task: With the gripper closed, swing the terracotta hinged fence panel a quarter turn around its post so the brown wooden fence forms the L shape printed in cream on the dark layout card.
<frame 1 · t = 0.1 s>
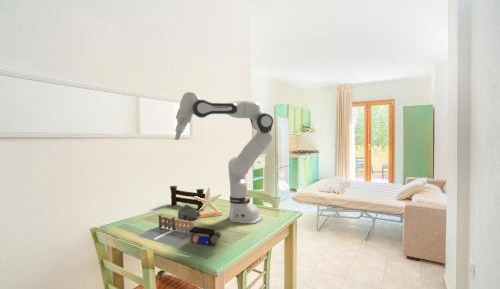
hand: (176, 139, 153), 52 cm above the table, tool tilted 20°, fingers open, 8 cm apart
decorative fence: (186, 207, 189), on the table
mineral rock: (188, 220, 162), on the table
fixed fence section: (174, 229, 145), resting on layout card
figurine character: (205, 243, 127), on the table
hinged fence panel: (184, 225, 141), point 4 cm above the table, hinge at 0.0°
layout card: (171, 233, 140), on the table
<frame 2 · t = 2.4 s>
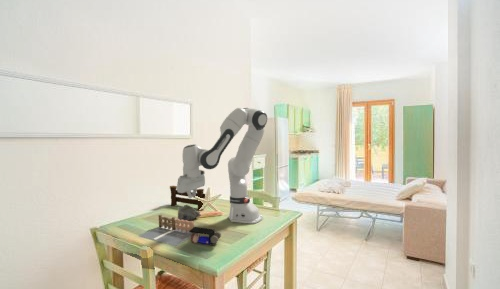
hand: (192, 197, 143), 19 cm above the table, tool pointing down, fingers closed
nothing on the table moved.
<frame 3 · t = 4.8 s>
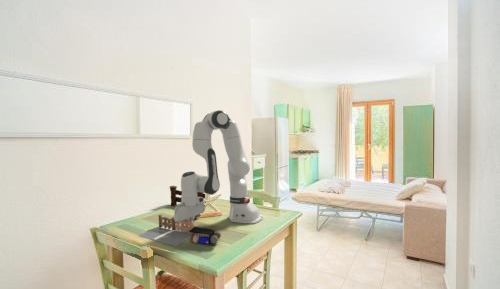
hand: (190, 224, 143), 4 cm above the table, tool pointing down, fingers closed
hinged fence panel: (184, 225, 141), point 4 cm above the table, hinge at 0.0°, touching gripper
everything else where it was.
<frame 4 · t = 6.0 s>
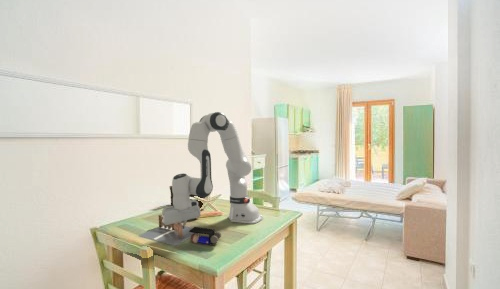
hand: (182, 228, 138), 3 cm above the table, tool pointing down, fingers closed
hinged fence panel: (177, 228, 138), point 4 cm above the table, hinge at 30.7°, touching gripper
everything else where it was.
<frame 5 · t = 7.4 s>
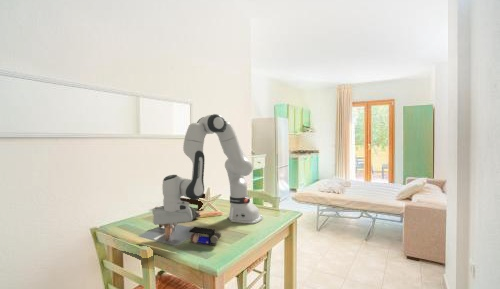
hand: (173, 230, 135), 3 cm above the table, tool pointing down, fingers closed
hinged fence panel: (169, 229, 136), point 4 cm above the table, hinge at 59.7°, touching gripper
everything else where it was.
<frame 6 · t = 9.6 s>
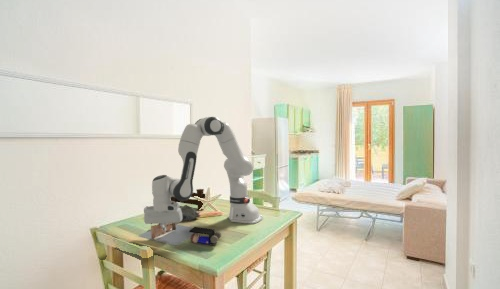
hand: (164, 230, 136), 3 cm above the table, tool pointing down, fingers closed
hinged fence panel: (162, 228, 138), point 4 cm above the table, hinge at 95.0°, touching gripper
everything else where it was.
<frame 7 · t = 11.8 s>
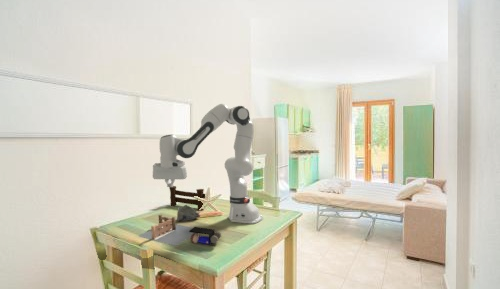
hand: (170, 186, 145), 25 cm above the table, tool pointing down, fingers closed
hinged fence panel: (162, 228, 138), point 4 cm above the table, hinge at 93.9°
everything else where it was.
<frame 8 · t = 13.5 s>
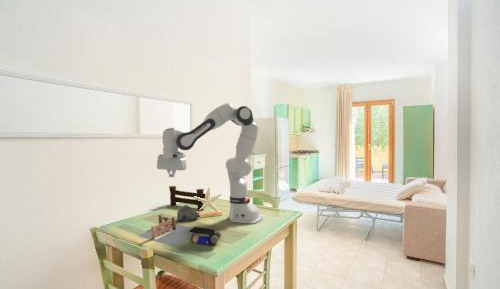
hand: (171, 177, 154), 29 cm above the table, tool pointing down, fingers closed
nothing on the table moved.
at the end: hinged fence panel at +94° (first picture: +0°); mineral rock moved 1.1 cm from its start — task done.
